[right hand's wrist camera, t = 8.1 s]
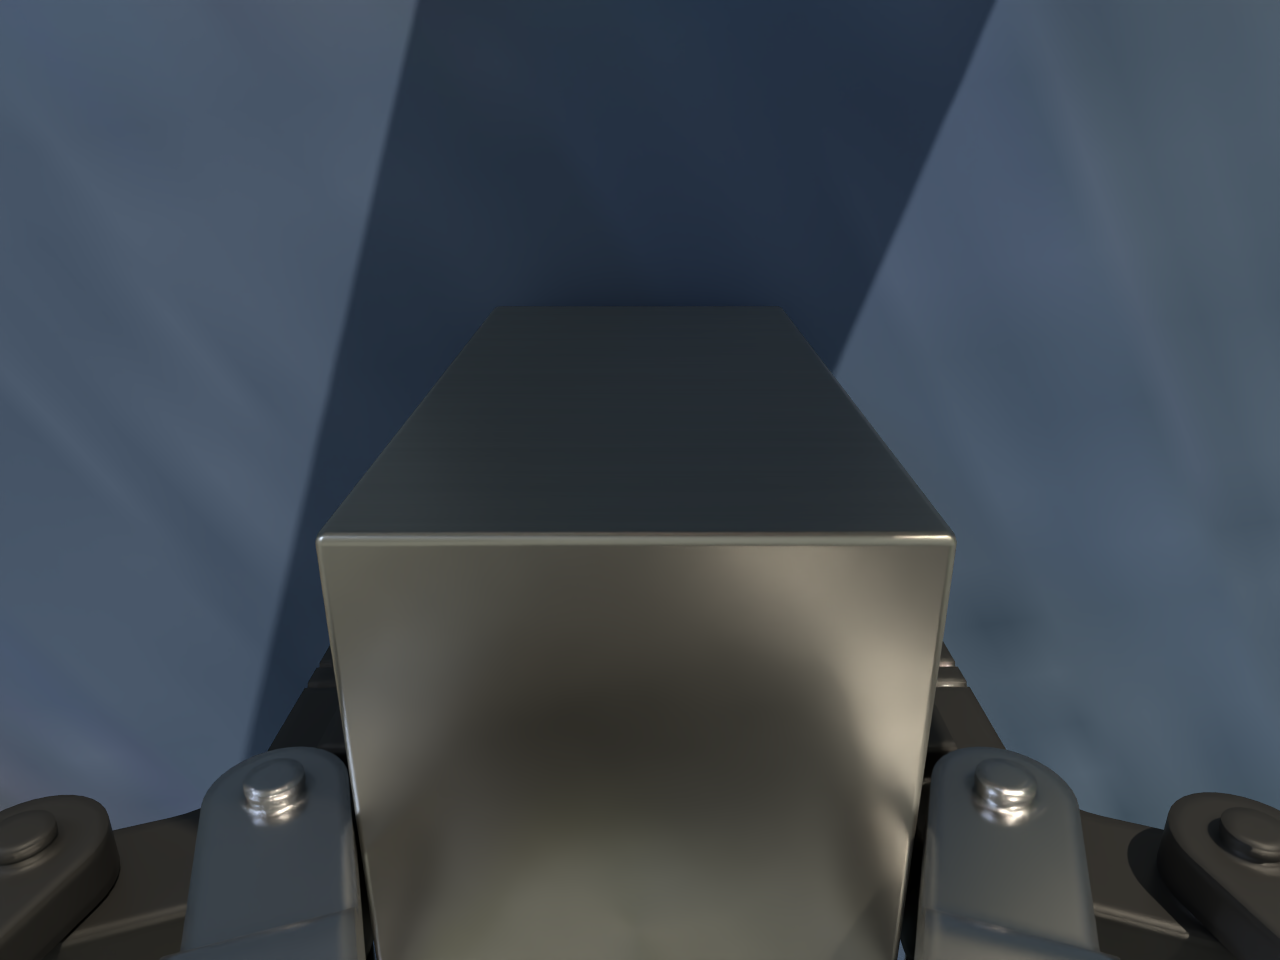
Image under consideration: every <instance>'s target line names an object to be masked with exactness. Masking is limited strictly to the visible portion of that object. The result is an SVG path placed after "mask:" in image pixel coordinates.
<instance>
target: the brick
mask: <svg viewBox="0 0 1280 960" xmlns="http://www.w3.org/2000/svg"><path fill="white" fill-rule="evenodd" d="M315 543H316V550H317V557H318V564H319V571H320V577H321V584H322V591H323V598H324V605H325V611H326V618H327V625H328V632H329V639H330V645H331V652H332V659H333V666H334V673H335V679H336V686H337V693H338V700H339V707H340V713H341V720H342V727H343V734H344V741H345V747H346V754H347V761H348V768H349V775H350V781H351V788H352V795H353V802H354V809H355V815H356V822H357V829H358V836H359V843H360V849H361V856H362V863H363V870H364V877H365V883H366V890H367V897H368V904H369V911H370V917H371V924H372V931H373V938H374V945H375V951H376V958H377V960H897V957H898V950H899V943H900V936H901V929H902V922H903V915H904V908H905V901H906V894H907V887H908V880H909V873H910V866H911V859H912V852H913V845H914V838H915V831H916V824H917V817H918V810H919V803H920V796H921V789H922V782H923V775H924V768H925V761H926V754H927V747H928V740H929V733H930V726H931V719H932V712H933V705H934V698H935V691H936V684H937V677H938V670H939V663H940V656H941V649H942V642H943V635H944V628H945V621H946V614H947V607H948V600H949V593H950V586H951V579H952V572H953V565H954V558H955V551H956V544H957V541H956V538H955V534H954V533H953V531H952V530H951V529H950V527H949V526H948V525H947V524H946V522H945V521H944V520H943V518H942V517H941V516H940V514H939V513H938V512H937V510H936V509H935V508H934V507H933V505H932V504H931V503H930V501H929V500H928V499H927V497H926V496H925V495H924V493H923V492H922V491H921V490H920V488H919V487H918V486H917V484H916V483H915V482H914V480H913V479H912V478H911V476H910V475H909V474H908V473H907V471H906V470H905V469H904V467H903V466H902V465H901V463H900V462H899V461H898V459H897V458H896V457H895V456H894V454H893V453H892V452H891V450H890V449H889V448H888V446H887V445H886V444H885V442H884V441H883V440H882V439H881V437H880V436H879V435H878V433H877V432H876V431H875V429H874V428H873V427H872V425H871V424H870V423H869V422H868V420H867V419H866V418H865V416H864V415H863V414H862V412H861V411H860V410H859V408H858V407H857V406H856V405H855V403H854V402H853V401H852V399H851V398H850V397H849V395H848V394H847V393H846V391H845V390H844V389H843V388H842V386H841V385H840V384H839V382H838V381H837V380H836V378H835V377H834V376H833V374H832V373H831V372H830V371H829V369H828V368H827V367H826V365H825V364H824V363H823V361H822V360H821V359H820V358H819V356H818V355H817V354H816V352H815V351H814V350H813V348H812V347H811V346H810V344H809V343H808V342H807V341H806V339H805V338H804V337H803V335H802V334H801V333H800V331H799V330H798V329H797V327H796V326H795V325H794V324H793V322H792V321H791V320H790V318H789V317H788V316H787V314H786V313H785V312H784V310H783V309H782V308H781V307H778V306H498V307H496V308H495V309H494V310H493V311H492V312H491V314H490V315H489V316H488V317H487V319H486V320H485V321H484V323H483V324H482V325H481V326H480V328H479V329H478V330H477V332H476V333H475V334H474V335H473V337H472V338H471V339H470V340H469V342H468V343H467V344H466V346H465V347H464V348H463V349H462V351H461V352H460V353H459V354H458V356H457V357H456V358H455V360H454V361H453V362H452V363H451V365H450V366H449V367H448V368H447V370H446V371H445V372H444V374H443V375H442V376H441V377H440V379H439V380H438V381H437V382H436V384H435V385H434V386H433V388H432V389H431V390H430V391H429V393H428V394H427V395H426V397H425V398H424V399H423V400H422V402H421V403H420V404H419V405H418V407H417V408H416V409H415V411H414V412H413V413H412V414H411V416H410V417H409V418H408V419H407V421H406V422H405V423H404V425H403V426H402V427H401V428H400V430H399V431H398V432H397V433H396V435H395V436H394V437H393V439H392V440H391V441H390V442H389V444H388V445H387V446H386V447H385V449H384V450H383V451H382V453H381V454H380V455H379V456H378V458H377V459H376V460H375V462H374V463H373V464H372V465H371V467H370V468H369V469H368V470H367V472H366V473H365V474H364V476H363V477H362V478H361V479H360V481H359V482H358V483H357V484H356V486H355V487H354V488H353V490H352V491H351V492H350V493H349V495H348V496H347V497H346V498H345V500H344V501H343V502H342V504H341V505H340V506H339V507H338V509H337V510H336V511H335V512H334V514H333V515H332V516H331V518H330V519H329V520H328V521H327V523H326V524H325V525H324V527H323V528H322V529H321V530H320V532H319V533H318V535H317V538H316V541H315Z"/></svg>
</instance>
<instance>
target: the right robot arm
mask: <svg viewBox="0 0 1280 960" xmlns="http://www.w3.org/2000/svg"><path fill="white" fill-rule="evenodd" d="M900 939H901V943H902V946H903V949H904V952H905V960H1280V811H1279V810H1277V809H1275V808H1273V807H1271V806H1268V805H1266V804H1263V803H1260V802H1258V801H1255V800H1251V799H1248V798H1245V797H1241V796H1236V795H1231V794H1224V793H1211V792H1203V793H1196V794H1191V795H1188V796H1184V797H1182V798H1181V799H1179V800H1177V801H1176V802H1175V803H1174V804H1173V805H1172V806H1171V808H1170V811H1169V813H1168V817H1167V820H1166V824H1165V828H1164V830H1162V829H1157V828H1153V827H1148V826H1144V825H1139V824H1135V823H1130V822H1126V821H1121V820H1117V819H1113V818H1108V817H1104V816H1100V815H1096V814H1092V813H1088V812H1085V811H1083V810H1080V809H1079V805H1078V802H1077V798H1076V797H1075V795H1074V793H1073V791H1072V789H1071V788H1070V787H1069V786H1068V784H1067V783H1066V782H1065V781H1064V780H1063V779H1062V778H1061V777H1060V776H1059V775H1058V774H1056V773H1055V772H1053V771H1052V770H1051V769H1049V768H1048V767H1046V766H1045V765H1043V764H1041V763H1039V762H1038V761H1036V760H1033V759H1031V758H1029V757H1027V756H1024V755H1022V754H1019V753H1016V752H1013V751H1009V750H1006V749H1005V747H1004V745H1003V744H1002V742H1001V740H1000V738H999V737H998V735H997V733H996V732H995V730H994V728H993V726H992V725H991V723H990V721H989V720H988V718H987V716H986V714H985V713H984V711H983V709H982V708H981V706H980V704H979V702H978V701H977V699H976V697H975V696H974V694H973V692H972V690H971V689H970V687H967V685H966V680H965V678H964V677H963V675H962V673H961V671H960V670H959V668H958V667H955V661H954V659H953V658H952V656H951V654H950V653H949V651H948V649H947V647H946V646H945V644H944V642H942V649H941V656H940V663H939V670H938V677H937V684H936V691H935V698H934V705H933V712H932V719H931V726H930V733H929V740H928V747H927V754H926V761H925V768H924V775H923V782H922V789H921V796H920V803H919V810H918V817H917V824H916V831H915V838H914V845H913V852H912V859H911V866H910V873H909V880H908V887H907V894H906V901H905V908H904V915H903V922H902V929H901V936H900ZM373 940H374V938H373V931H372V924H371V917H370V911H369V904H368V897H367V890H366V883H365V877H364V870H363V863H362V856H361V849H360V843H359V836H358V829H357V822H356V815H355V809H354V802H353V795H352V788H351V781H350V775H349V768H348V761H347V754H346V747H345V741H344V734H343V727H342V720H341V713H340V707H339V700H338V693H337V686H336V679H335V673H334V666H333V659H332V652H331V645H330V646H329V648H328V650H327V651H326V653H325V655H324V656H323V658H322V660H321V661H320V667H319V668H316V670H315V672H314V673H313V675H312V677H311V678H310V680H309V682H308V688H305V689H304V690H303V692H302V694H301V695H300V697H299V699H298V700H297V702H296V704H295V705H294V707H293V709H292V711H291V712H290V714H289V716H288V717H287V719H286V721H285V722H284V724H283V726H282V727H281V729H280V731H279V733H278V734H277V736H276V738H275V739H274V741H273V743H272V744H271V746H270V748H269V749H268V751H267V752H264V753H261V754H258V755H256V756H253V757H251V758H249V759H247V760H244V761H242V762H241V763H239V764H237V765H235V766H234V767H232V768H231V769H229V770H228V771H227V772H225V773H224V774H222V775H221V776H220V777H219V778H218V779H217V780H216V781H215V782H214V783H213V784H212V786H211V787H210V788H209V789H208V791H207V793H206V795H205V797H204V798H203V802H202V805H201V808H200V809H197V810H195V811H192V812H189V813H186V814H183V815H179V816H175V817H171V818H167V819H163V820H158V821H154V822H149V823H145V824H140V825H136V826H131V827H127V828H122V829H118V830H113V831H112V827H111V823H110V820H109V816H108V814H107V811H106V809H105V808H104V807H103V806H102V805H101V804H100V803H99V802H97V801H95V800H94V799H91V798H87V797H84V796H77V795H57V796H49V797H44V798H39V799H34V800H31V801H27V802H24V803H21V804H18V805H15V806H13V807H10V808H7V809H5V810H3V811H1V812H0V960H375V953H374V946H373Z"/></svg>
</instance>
